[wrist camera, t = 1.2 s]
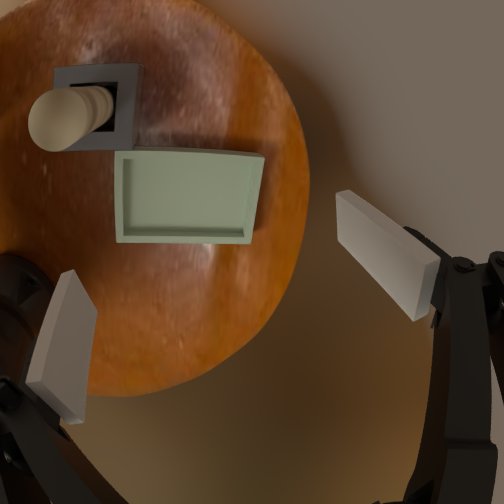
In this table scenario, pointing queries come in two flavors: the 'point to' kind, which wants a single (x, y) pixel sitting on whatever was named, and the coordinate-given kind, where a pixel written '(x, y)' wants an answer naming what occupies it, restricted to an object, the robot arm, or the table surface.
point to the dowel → (70, 115)
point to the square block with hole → (127, 104)
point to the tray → (186, 195)
